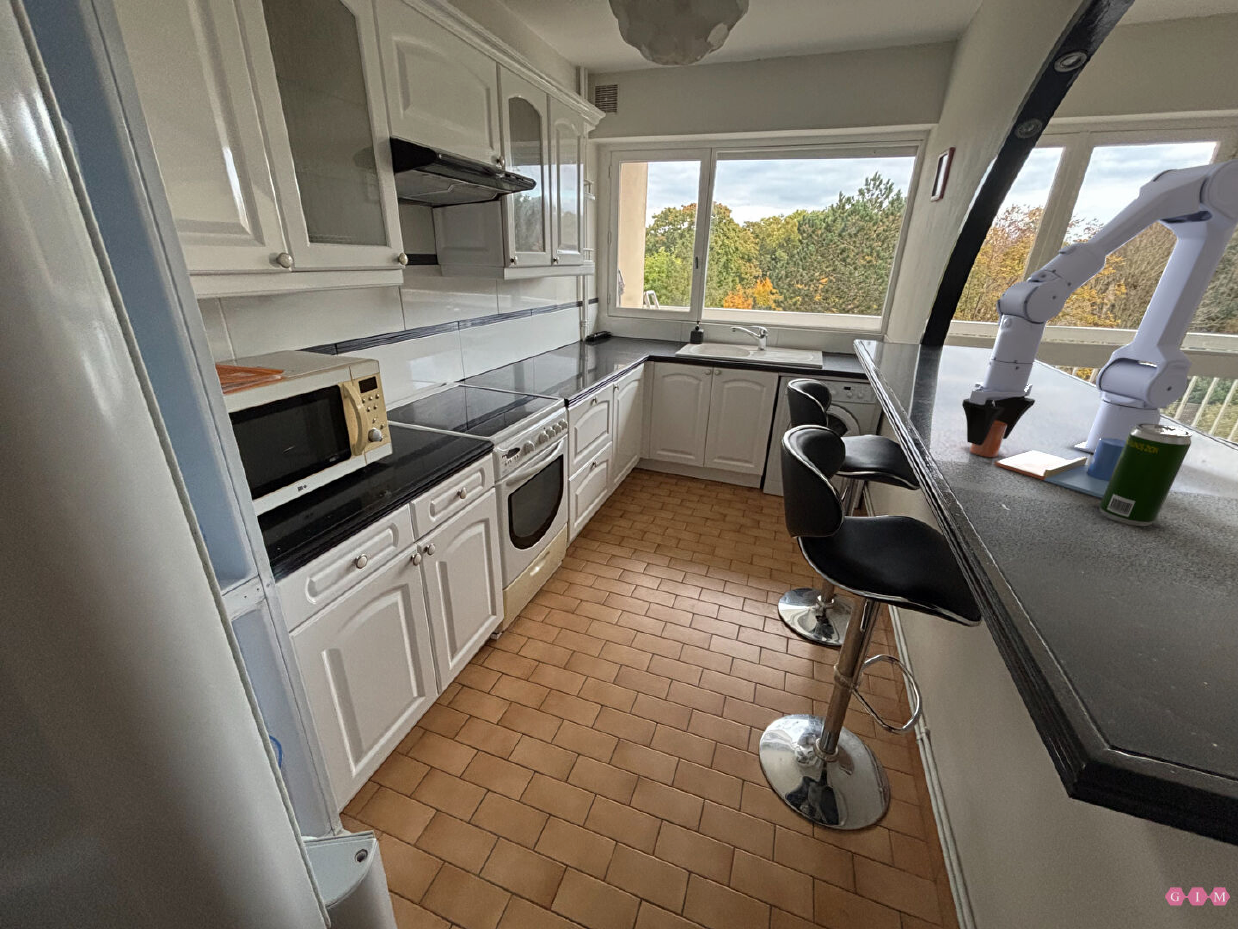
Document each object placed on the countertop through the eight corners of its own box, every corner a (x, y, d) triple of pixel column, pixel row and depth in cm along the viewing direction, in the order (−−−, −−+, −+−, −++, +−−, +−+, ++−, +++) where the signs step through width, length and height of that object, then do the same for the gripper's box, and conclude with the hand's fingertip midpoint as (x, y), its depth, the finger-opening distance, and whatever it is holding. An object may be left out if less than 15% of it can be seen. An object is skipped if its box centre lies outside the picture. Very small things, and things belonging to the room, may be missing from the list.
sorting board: (1032, 453, 87) (1035, 443, 87) (1138, 483, 76) (1142, 472, 75) (994, 464, 82) (997, 454, 81) (1101, 498, 71) (1106, 486, 70)
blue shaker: (1093, 469, 79) (1106, 436, 77) (1126, 478, 76) (1141, 444, 74) (1081, 474, 77) (1094, 440, 75) (1114, 483, 74) (1129, 448, 72)
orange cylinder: (977, 447, 90) (986, 417, 88) (1002, 454, 87) (1012, 424, 85) (964, 451, 88) (973, 420, 86) (989, 458, 85) (999, 427, 83)
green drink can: (1146, 531, 62) (1189, 439, 58) (1090, 514, 66) (1126, 426, 62) (1159, 520, 65) (1200, 431, 60) (1104, 504, 69) (1139, 420, 64)
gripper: (1008, 353, 88) (985, 428, 93) (960, 359, 81) (938, 439, 87) (1056, 360, 82) (1029, 439, 87) (1008, 367, 76) (982, 452, 81)
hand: (987, 440), depth 86 cm, fingers open, 7 cm apart
